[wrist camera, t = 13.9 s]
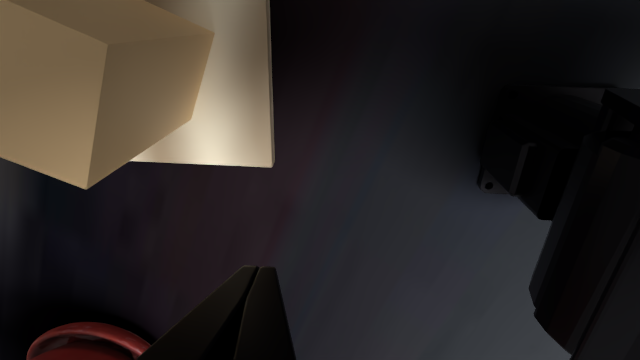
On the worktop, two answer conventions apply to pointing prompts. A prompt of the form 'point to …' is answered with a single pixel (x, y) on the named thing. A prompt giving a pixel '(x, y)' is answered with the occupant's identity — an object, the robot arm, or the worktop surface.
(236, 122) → the birch board
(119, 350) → the plant pot
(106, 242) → the worktop surface
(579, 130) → the robot arm
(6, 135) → the ochre block
